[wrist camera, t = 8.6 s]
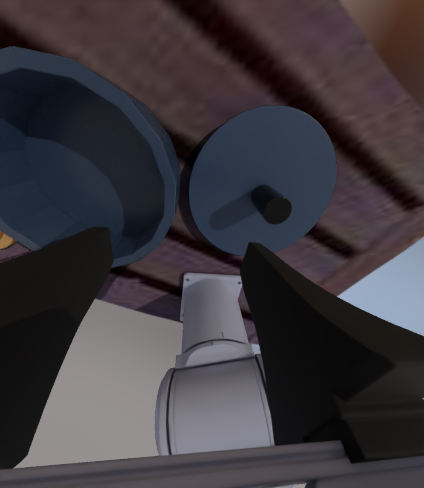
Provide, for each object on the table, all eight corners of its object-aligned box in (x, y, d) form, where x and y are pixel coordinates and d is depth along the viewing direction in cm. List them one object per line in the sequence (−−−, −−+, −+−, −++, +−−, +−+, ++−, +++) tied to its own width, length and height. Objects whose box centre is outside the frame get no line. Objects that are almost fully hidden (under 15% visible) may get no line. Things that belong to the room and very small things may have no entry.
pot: (176, 242, 22) (171, 272, 17) (47, 231, 20) (1, 262, 15) (185, 97, 15) (181, 81, 10) (-14, 56, 13) (-133, 14, 8)
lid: (296, 255, 24) (318, 283, 20) (183, 246, 22) (181, 274, 18) (358, 123, 17) (416, 121, 12) (197, 90, 14) (198, 72, 10)
